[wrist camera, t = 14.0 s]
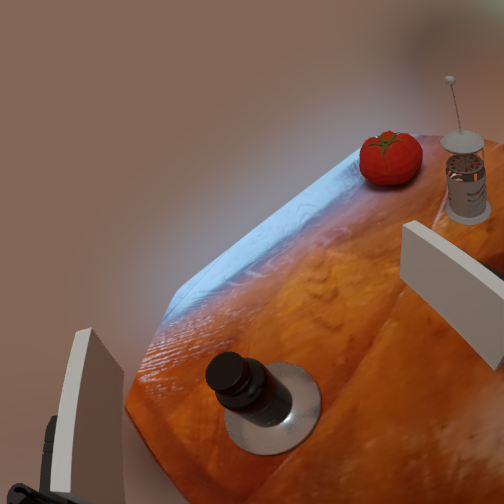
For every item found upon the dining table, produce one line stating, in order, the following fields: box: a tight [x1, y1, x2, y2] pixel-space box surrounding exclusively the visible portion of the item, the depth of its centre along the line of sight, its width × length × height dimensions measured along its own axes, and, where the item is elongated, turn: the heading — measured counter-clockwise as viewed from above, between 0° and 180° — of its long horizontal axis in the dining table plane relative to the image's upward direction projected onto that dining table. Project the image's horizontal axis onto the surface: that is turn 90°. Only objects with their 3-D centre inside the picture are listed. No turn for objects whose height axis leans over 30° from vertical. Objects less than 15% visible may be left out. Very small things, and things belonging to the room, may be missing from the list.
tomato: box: [359, 131, 423, 185], centre depth 59 cm, size 14×16×10 cm
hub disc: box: [224, 362, 322, 456], centre depth 37 cm, size 14×14×1 cm
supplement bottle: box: [205, 351, 293, 428], centre depth 33 cm, size 7×7×12 cm
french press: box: [440, 76, 491, 225], centre depth 38 cm, size 10×12×25 cm
